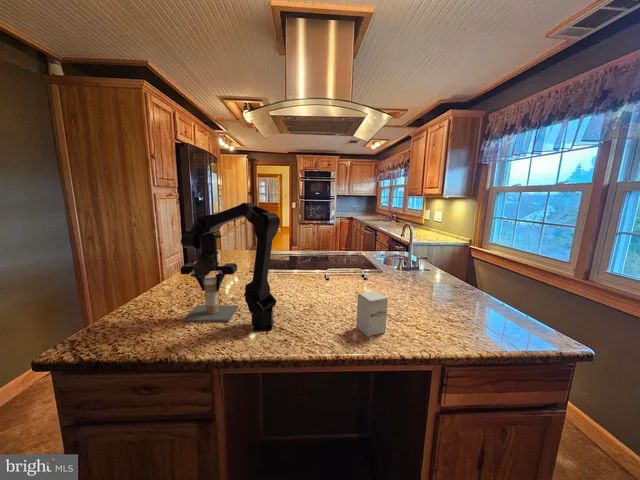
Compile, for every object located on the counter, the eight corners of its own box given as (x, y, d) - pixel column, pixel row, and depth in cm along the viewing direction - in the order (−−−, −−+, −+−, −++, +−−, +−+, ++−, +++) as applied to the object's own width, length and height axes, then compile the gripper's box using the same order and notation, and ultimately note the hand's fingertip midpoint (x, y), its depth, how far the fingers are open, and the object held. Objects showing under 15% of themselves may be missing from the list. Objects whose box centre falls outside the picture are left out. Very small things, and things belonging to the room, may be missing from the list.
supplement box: (367, 337, 80) (369, 300, 78) (355, 327, 87) (357, 292, 85) (386, 333, 83) (388, 297, 81) (373, 323, 90) (374, 289, 88)
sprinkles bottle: (208, 309, 96) (206, 276, 94) (220, 309, 96) (219, 276, 94) (203, 314, 92) (202, 280, 89) (216, 314, 92) (215, 280, 90)
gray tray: (238, 307, 100) (237, 305, 100) (228, 322, 89) (228, 319, 88) (197, 307, 100) (197, 305, 100) (182, 322, 88) (182, 319, 88)
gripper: (170, 254, 82) (173, 299, 84) (227, 254, 83) (229, 299, 85) (186, 248, 93) (189, 288, 95) (237, 248, 94) (238, 288, 96)
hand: (211, 290), depth 93 cm, fingers open, 5 cm apart
